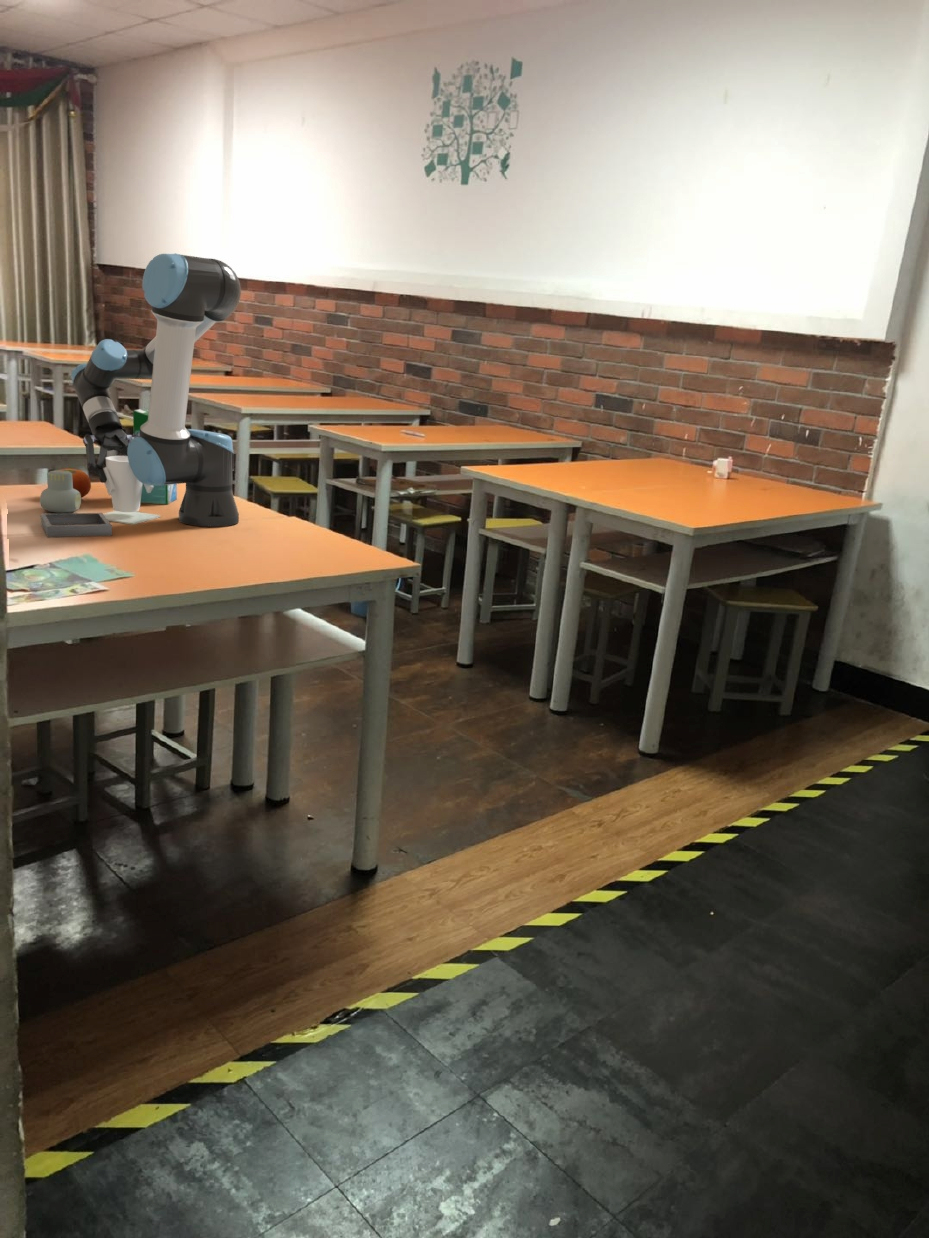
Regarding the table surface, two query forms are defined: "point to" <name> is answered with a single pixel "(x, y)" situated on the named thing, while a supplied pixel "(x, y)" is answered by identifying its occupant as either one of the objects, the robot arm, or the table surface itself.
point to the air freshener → (60, 493)
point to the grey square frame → (75, 530)
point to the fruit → (80, 481)
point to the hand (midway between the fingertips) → (131, 491)
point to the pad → (129, 517)
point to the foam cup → (124, 485)
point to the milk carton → (158, 493)
